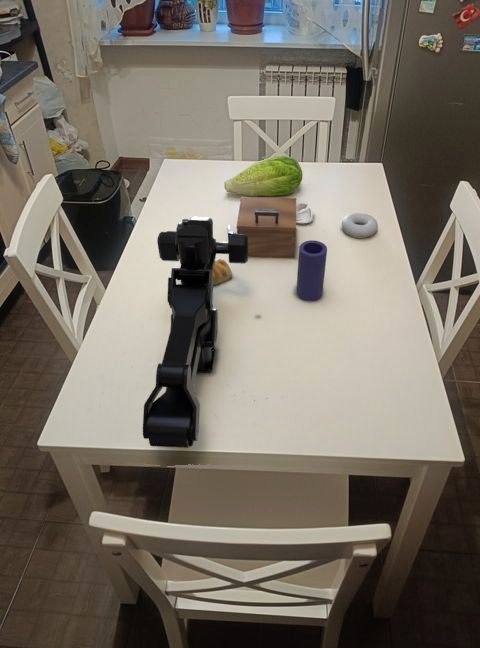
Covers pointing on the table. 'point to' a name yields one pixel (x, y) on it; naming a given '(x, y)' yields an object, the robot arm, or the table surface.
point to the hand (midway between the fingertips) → (208, 226)
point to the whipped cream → (303, 213)
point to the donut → (359, 225)
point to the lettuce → (267, 178)
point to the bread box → (270, 242)
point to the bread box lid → (267, 213)
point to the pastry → (221, 272)
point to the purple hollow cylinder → (311, 270)
